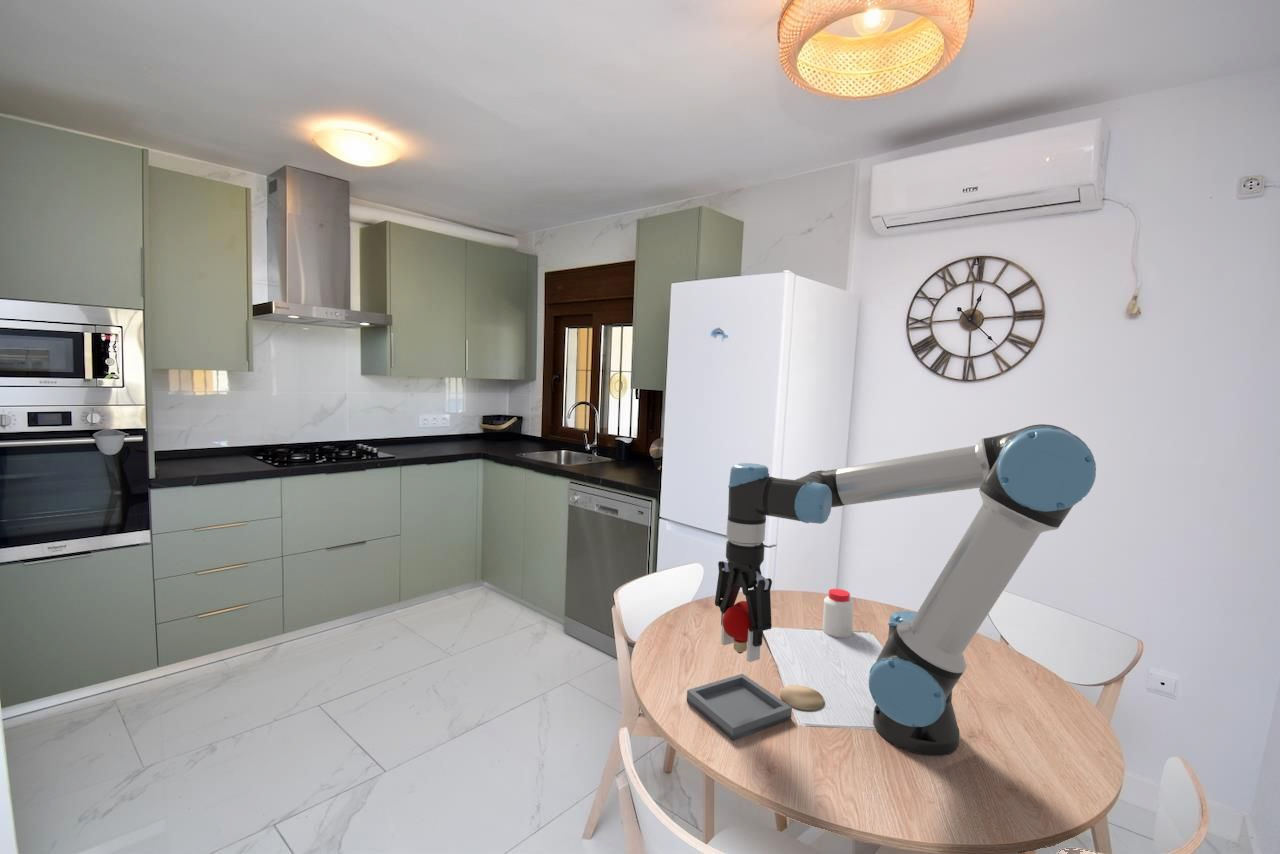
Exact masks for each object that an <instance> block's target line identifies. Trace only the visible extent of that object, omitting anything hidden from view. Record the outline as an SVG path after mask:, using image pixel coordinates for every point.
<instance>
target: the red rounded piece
mask: <svg viewBox="0 0 1280 854" xmlns="http://www.w3.org/2000/svg"><path fill="white" fill-rule="evenodd" d="M757 623H758V622H757ZM723 627H724V630H725V632H726V633H727V634H728V635H729V636H730V637H732V638H734V643H733V650H734V651H735V652H737V654H744V652H747V643H748V629H749V628H751V622H750V617H749V612H748V607H747V601H746V600H741V601H738V602H735V604H734V606H732V607H730V608H728V609H727V610H726V612H725V614H724V616H723Z"/></svg>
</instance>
